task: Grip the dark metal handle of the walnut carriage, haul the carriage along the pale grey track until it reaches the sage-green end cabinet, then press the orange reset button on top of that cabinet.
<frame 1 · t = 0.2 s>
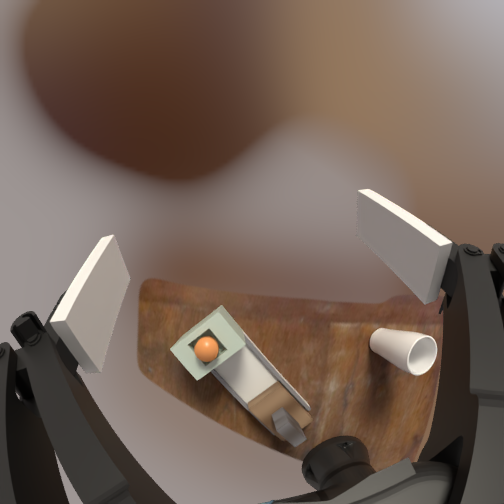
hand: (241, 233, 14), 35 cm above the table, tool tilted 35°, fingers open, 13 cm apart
reset button: (206, 348, 36), point 12 cm above the table, slide at 0.0 cm
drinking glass: (378, 340, 49), on the table
carriage: (283, 419, 40), point 6 cm above the table, slide at 0.0 cm
end cabinet: (212, 333, 47), on the table
track: (258, 384, 47), on the table
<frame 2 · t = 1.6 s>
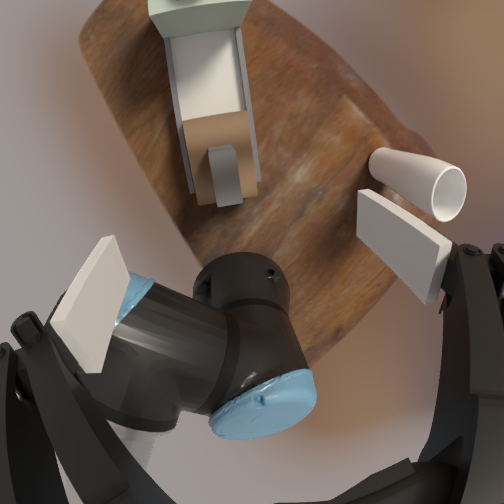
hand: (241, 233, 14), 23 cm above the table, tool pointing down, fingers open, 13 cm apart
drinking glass: (380, 163, 37), on the table
carriage: (222, 160, 28), point 6 cm above the table, slide at 0.0 cm
end cabinet: (199, 17, 24), on the table
track: (212, 107, 30), on the table
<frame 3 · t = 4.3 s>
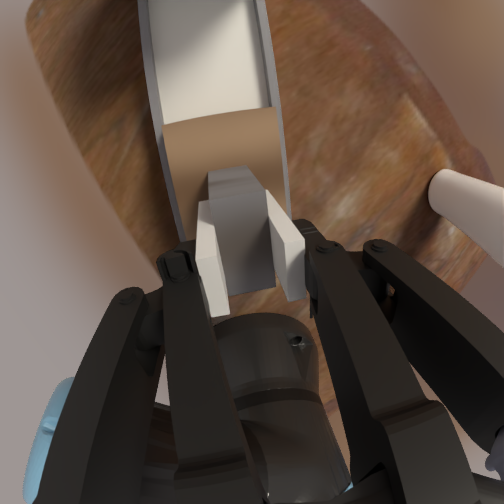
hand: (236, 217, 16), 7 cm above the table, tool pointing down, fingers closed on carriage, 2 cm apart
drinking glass: (439, 189, 25), on the table
carriage: (232, 197, 16), point 6 cm above the table, slide at 0.0 cm, touching gripper
track: (214, 102, 18), on the table
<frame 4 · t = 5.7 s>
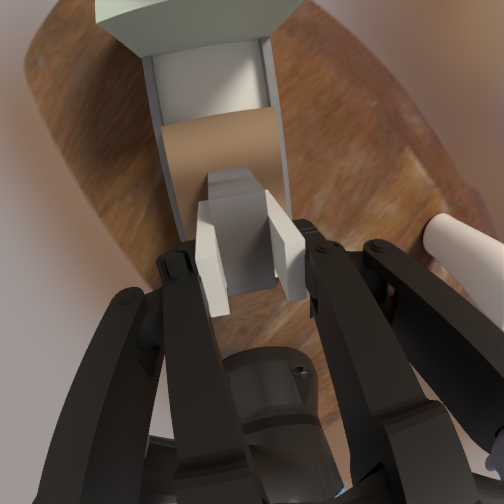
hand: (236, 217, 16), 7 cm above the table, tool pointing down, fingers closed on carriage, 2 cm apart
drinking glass: (434, 231, 28), on the table
carriage: (232, 198, 16), point 6 cm above the table, slide at 5.5 cm, touching gripper
end cabinet: (200, 19, 15), on the table
track: (224, 169, 21), on the table
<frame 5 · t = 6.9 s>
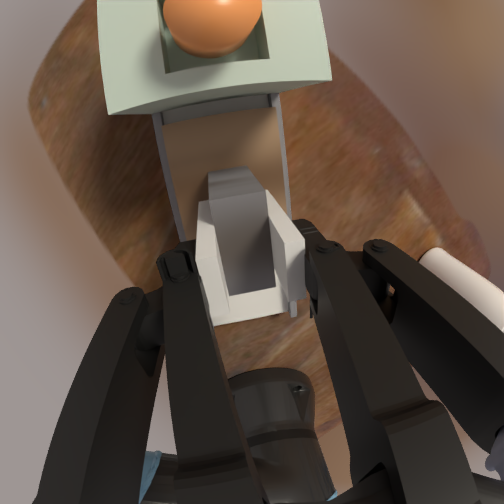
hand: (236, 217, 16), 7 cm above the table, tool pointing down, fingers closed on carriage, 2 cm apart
reset button: (211, 15, 7), point 12 cm above the table, slide at 0.0 cm
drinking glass: (428, 263, 30), on the table
carriage: (233, 197, 16), point 6 cm above the table, slide at 10.0 cm, touching gripper
end cabinet: (208, 66, 17), on the table
track: (233, 220, 23), on the table
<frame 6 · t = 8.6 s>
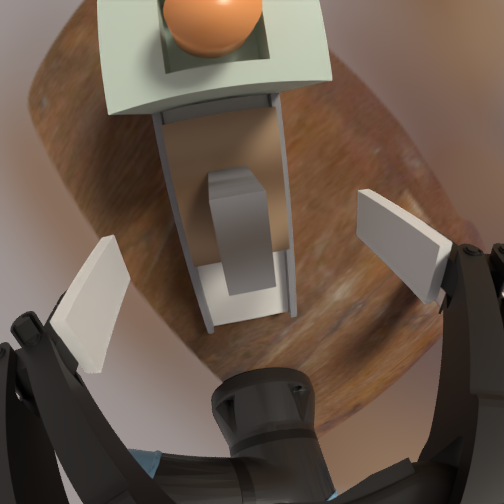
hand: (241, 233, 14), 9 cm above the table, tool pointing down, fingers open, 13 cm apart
reset button: (212, 15, 7), point 12 cm above the table, slide at 0.0 cm
carriage: (233, 197, 16), point 6 cm above the table, slide at 10.0 cm
end cabinet: (209, 66, 17), on the table
track: (233, 220, 23), on the table
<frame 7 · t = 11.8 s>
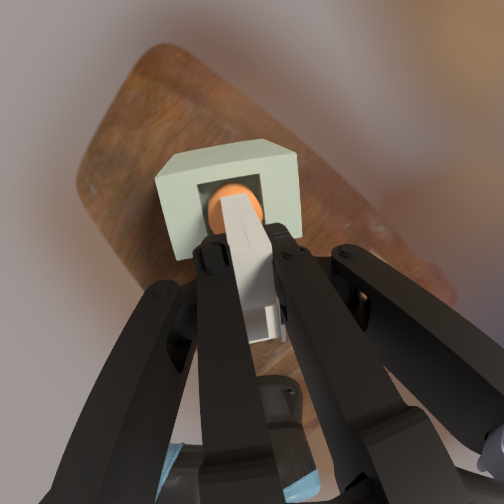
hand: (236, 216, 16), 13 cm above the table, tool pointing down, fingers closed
reset button: (233, 210, 17), point 12 cm above the table, slide at 0.1 cm, touching gripper
carriage: (243, 281, 26), point 6 cm above the table, slide at 10.0 cm
end cabinet: (223, 173, 27), on the table
track: (241, 279, 34), on the table
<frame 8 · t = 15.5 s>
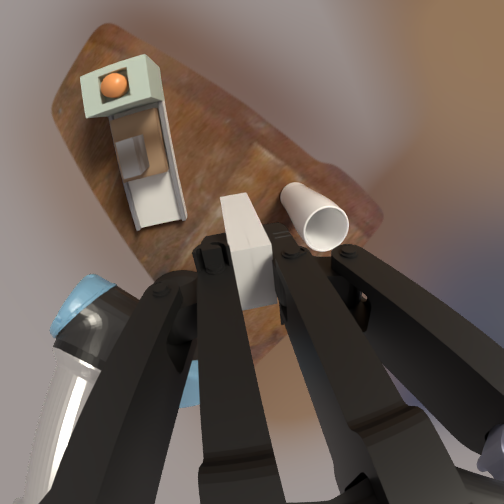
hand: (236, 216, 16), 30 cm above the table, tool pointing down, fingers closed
reset button: (115, 85, 26), point 10 cm above the table, slide at 1.2 cm
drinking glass: (293, 195, 48), on the table
carriage: (134, 147, 34), point 6 cm above the table, slide at 10.0 cm
end cabinet: (135, 91, 35), on the table
track: (149, 165, 41), on the table
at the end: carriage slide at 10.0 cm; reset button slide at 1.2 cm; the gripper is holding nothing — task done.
